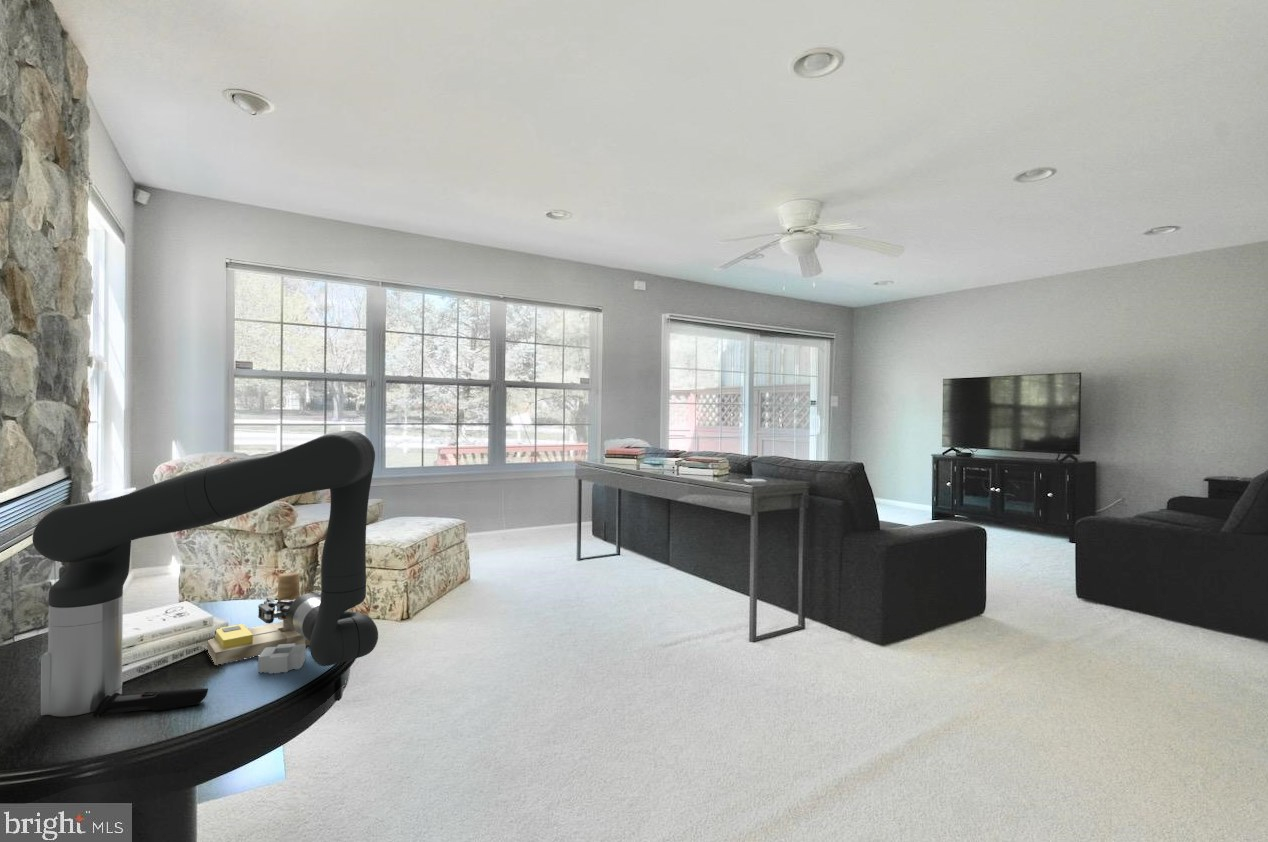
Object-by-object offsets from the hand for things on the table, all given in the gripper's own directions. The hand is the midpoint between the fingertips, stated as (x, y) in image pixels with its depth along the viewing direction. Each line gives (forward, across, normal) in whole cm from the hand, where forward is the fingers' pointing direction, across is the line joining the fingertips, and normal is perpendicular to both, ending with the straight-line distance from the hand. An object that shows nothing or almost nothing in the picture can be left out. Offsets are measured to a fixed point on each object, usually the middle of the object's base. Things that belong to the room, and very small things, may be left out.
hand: (291, 599), depth 132 cm
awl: (+2, 0, +9) cm, 9 cm away
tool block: (-12, +5, +9) cm, 16 cm away
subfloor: (+2, +4, +9) cm, 10 cm away
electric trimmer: (-17, +25, +10) cm, 32 cm away
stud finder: (+2, +10, +7) cm, 12 cm away
